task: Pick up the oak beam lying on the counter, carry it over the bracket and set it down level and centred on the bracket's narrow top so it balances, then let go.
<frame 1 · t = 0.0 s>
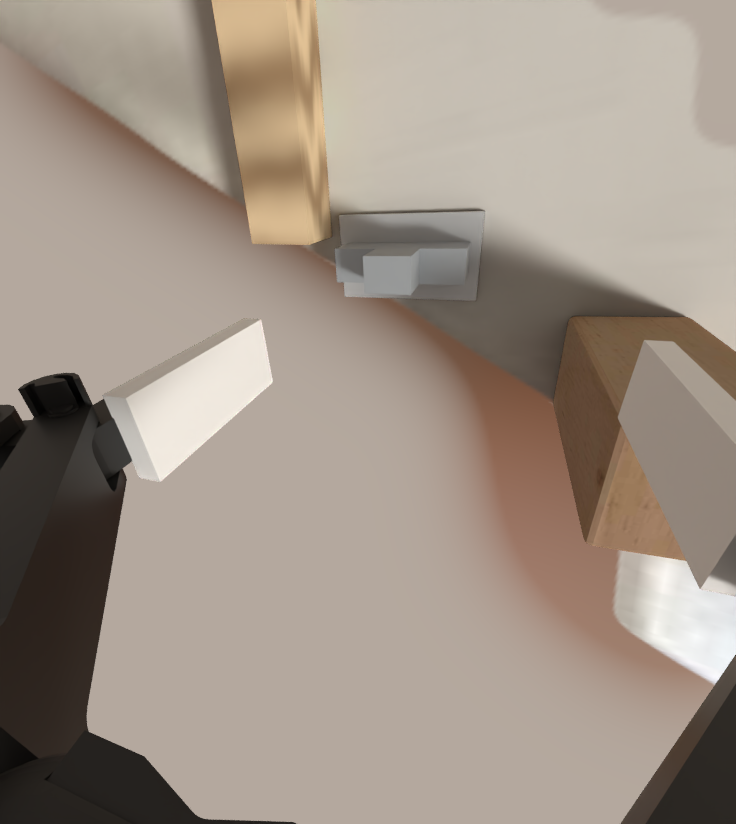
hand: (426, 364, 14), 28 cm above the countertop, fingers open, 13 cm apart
beam: (292, 92, 35), on the countertop
wooden block: (614, 363, 38), on the countertop
bracket: (408, 257, 39), on the countertop
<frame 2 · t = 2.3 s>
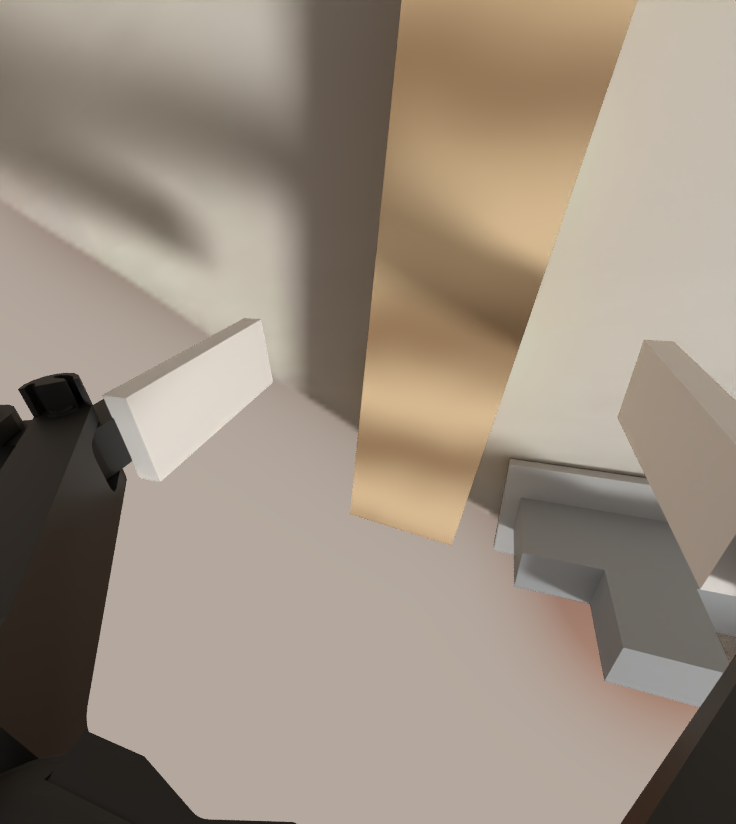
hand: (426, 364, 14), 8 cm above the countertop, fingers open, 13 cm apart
beam: (457, 293, 20), on the countertop
bracket: (617, 525, 24), on the countertop
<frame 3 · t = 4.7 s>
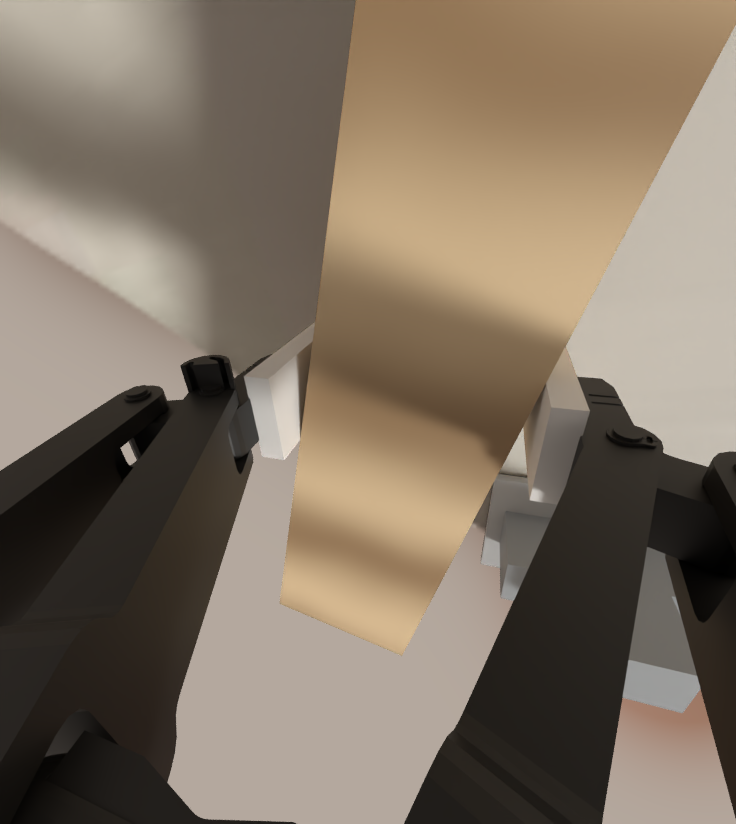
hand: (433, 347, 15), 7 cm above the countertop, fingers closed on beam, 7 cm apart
beam: (434, 344, 16), point 6 cm above the countertop, touching gripper
bracket: (598, 537, 25), on the countertop
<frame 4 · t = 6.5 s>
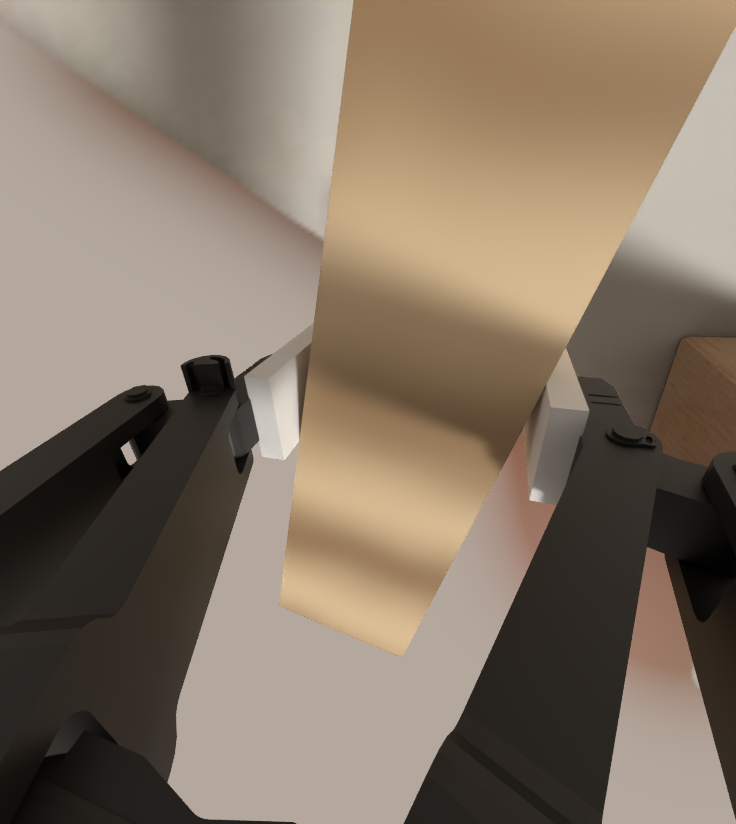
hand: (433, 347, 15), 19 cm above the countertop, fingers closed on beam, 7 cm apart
beam: (434, 346, 16), point 18 cm above the countertop, touching gripper
wooden block: (733, 395, 30), on the countertop
when the fingers open (9 cm above the countertop, at t = 8.3 s): beam stays where it is, resting on bracket.
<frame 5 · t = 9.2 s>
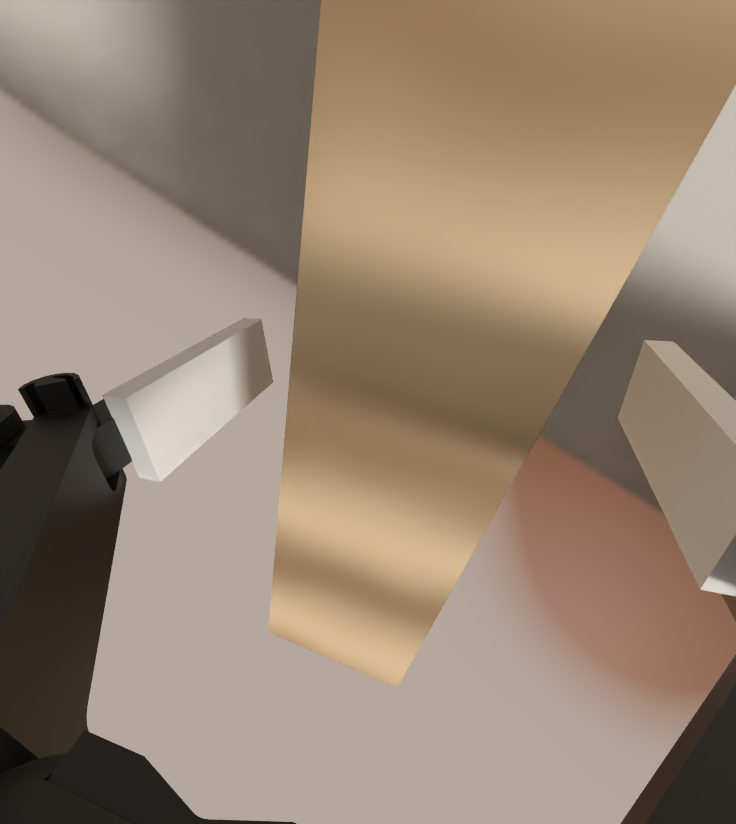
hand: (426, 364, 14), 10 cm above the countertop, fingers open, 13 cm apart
beam: (429, 359, 15), point 9 cm above the countertop, touching bracket
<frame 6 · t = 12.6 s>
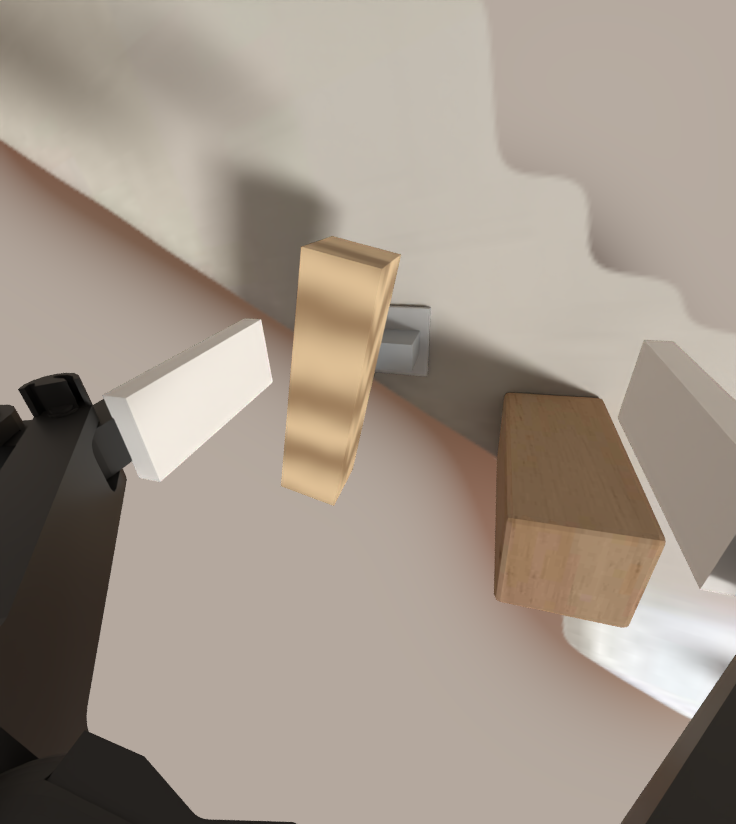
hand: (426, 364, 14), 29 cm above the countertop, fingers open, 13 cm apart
beam: (344, 372, 38), point 9 cm above the countertop, touching bracket
wooden block: (545, 430, 45), on the countertop
bracket: (370, 338, 45), on the countertop
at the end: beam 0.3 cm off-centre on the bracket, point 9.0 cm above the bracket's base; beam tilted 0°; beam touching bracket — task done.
